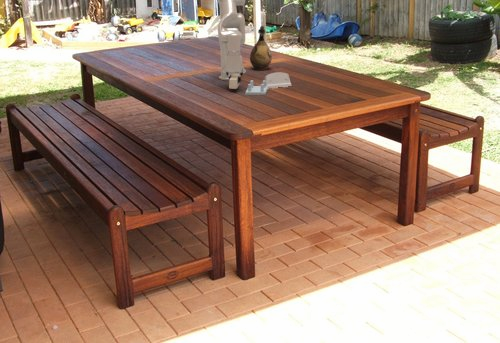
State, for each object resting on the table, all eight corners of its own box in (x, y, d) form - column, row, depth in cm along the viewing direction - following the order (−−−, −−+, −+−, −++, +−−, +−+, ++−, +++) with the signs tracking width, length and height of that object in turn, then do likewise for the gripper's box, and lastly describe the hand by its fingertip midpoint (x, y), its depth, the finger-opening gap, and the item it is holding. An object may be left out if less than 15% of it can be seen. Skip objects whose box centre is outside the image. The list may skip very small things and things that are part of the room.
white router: (267, 88, 435) (265, 72, 435) (264, 90, 439) (262, 74, 439) (292, 86, 440) (290, 70, 440) (289, 87, 444) (287, 72, 444)
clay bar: (233, 82, 441) (233, 73, 439) (240, 82, 440) (240, 73, 438) (229, 88, 426) (229, 79, 424) (236, 88, 425) (236, 79, 423)
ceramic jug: (271, 71, 489) (271, 27, 479) (249, 71, 490) (249, 28, 480) (271, 66, 505) (271, 24, 496) (250, 66, 506) (249, 25, 496)
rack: (249, 88, 438) (249, 79, 436) (268, 88, 436) (268, 79, 434) (245, 94, 421) (245, 85, 419) (265, 94, 419) (265, 85, 417)
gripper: (219, 54, 423) (220, 84, 430) (247, 54, 421) (247, 84, 428) (221, 52, 430) (222, 81, 437) (248, 52, 428) (249, 81, 435)
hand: (234, 82), depth 432 cm, fingers closed on clay bar, 4 cm apart
